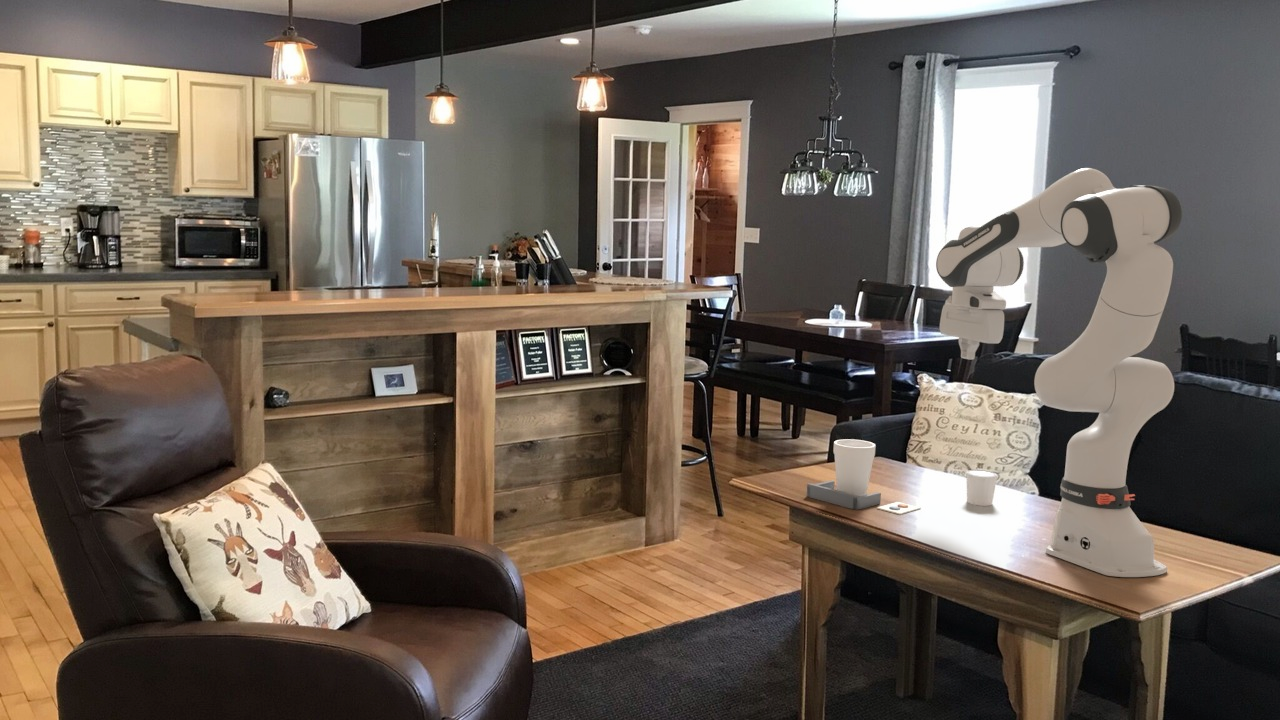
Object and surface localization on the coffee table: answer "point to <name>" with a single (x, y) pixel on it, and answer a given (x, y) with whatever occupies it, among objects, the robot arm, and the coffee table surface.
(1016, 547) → the coffee table surface
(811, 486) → the grey cup holder
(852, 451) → the foam cup
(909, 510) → the card
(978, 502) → the shot glass
